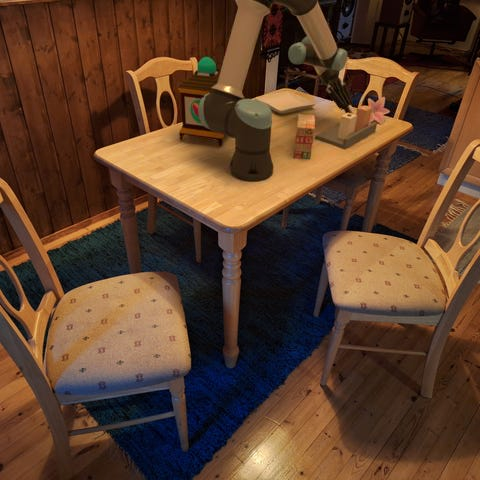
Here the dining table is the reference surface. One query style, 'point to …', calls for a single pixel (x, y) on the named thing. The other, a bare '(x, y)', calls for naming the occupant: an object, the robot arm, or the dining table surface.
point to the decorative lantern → (198, 100)
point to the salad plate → (286, 102)
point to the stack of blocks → (304, 136)
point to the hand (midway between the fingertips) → (354, 120)
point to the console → (332, 137)
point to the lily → (377, 110)
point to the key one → (347, 125)
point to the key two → (362, 117)
